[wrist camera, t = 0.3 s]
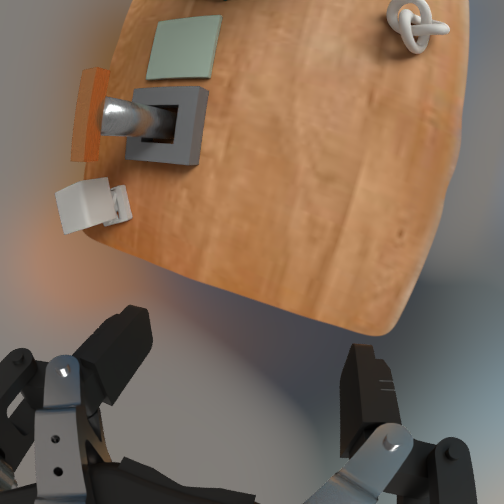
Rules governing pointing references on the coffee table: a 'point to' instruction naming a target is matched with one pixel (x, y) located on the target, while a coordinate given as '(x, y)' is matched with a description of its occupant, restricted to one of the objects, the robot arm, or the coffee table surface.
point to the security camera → (92, 204)
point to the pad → (184, 48)
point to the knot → (421, 29)
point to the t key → (112, 117)
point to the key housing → (187, 125)
